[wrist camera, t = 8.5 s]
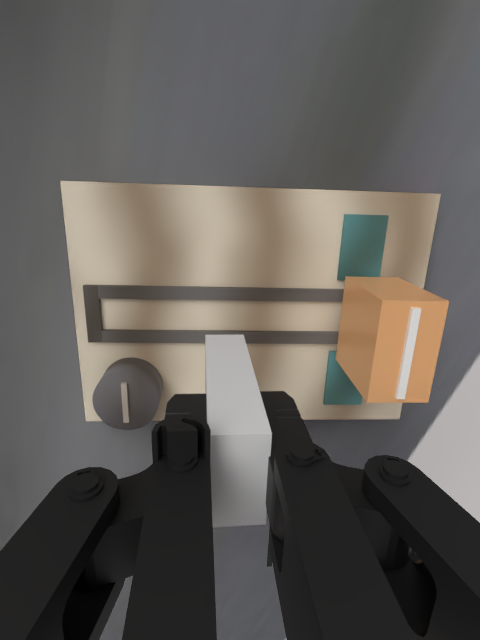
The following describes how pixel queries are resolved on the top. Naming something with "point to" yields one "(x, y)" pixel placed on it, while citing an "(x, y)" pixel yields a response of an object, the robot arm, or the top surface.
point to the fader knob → (390, 338)
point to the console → (228, 287)
